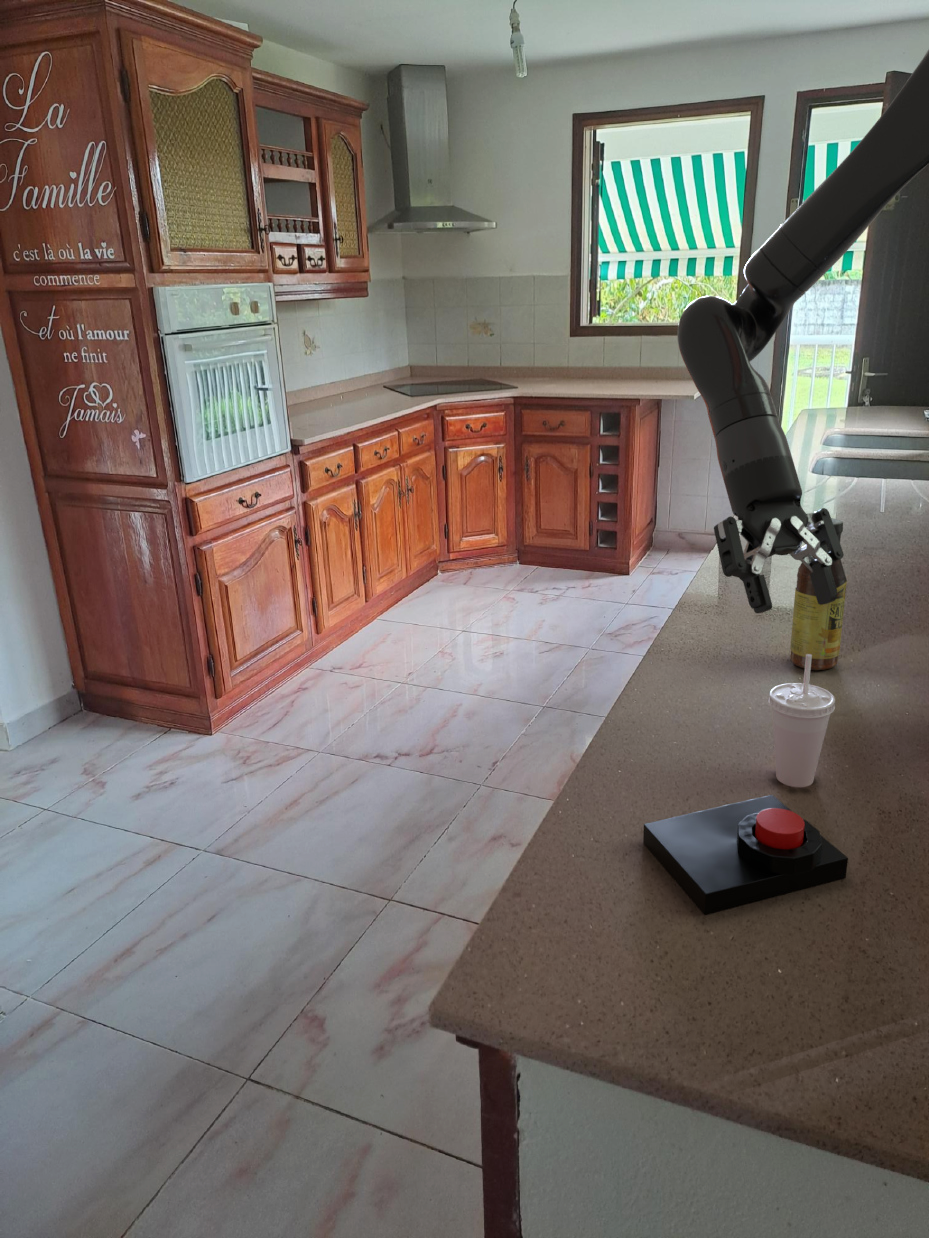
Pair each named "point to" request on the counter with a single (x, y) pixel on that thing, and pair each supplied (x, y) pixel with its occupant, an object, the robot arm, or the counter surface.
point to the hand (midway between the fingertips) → (796, 607)
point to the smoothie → (799, 728)
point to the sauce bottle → (818, 617)
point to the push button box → (738, 856)
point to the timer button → (779, 828)
